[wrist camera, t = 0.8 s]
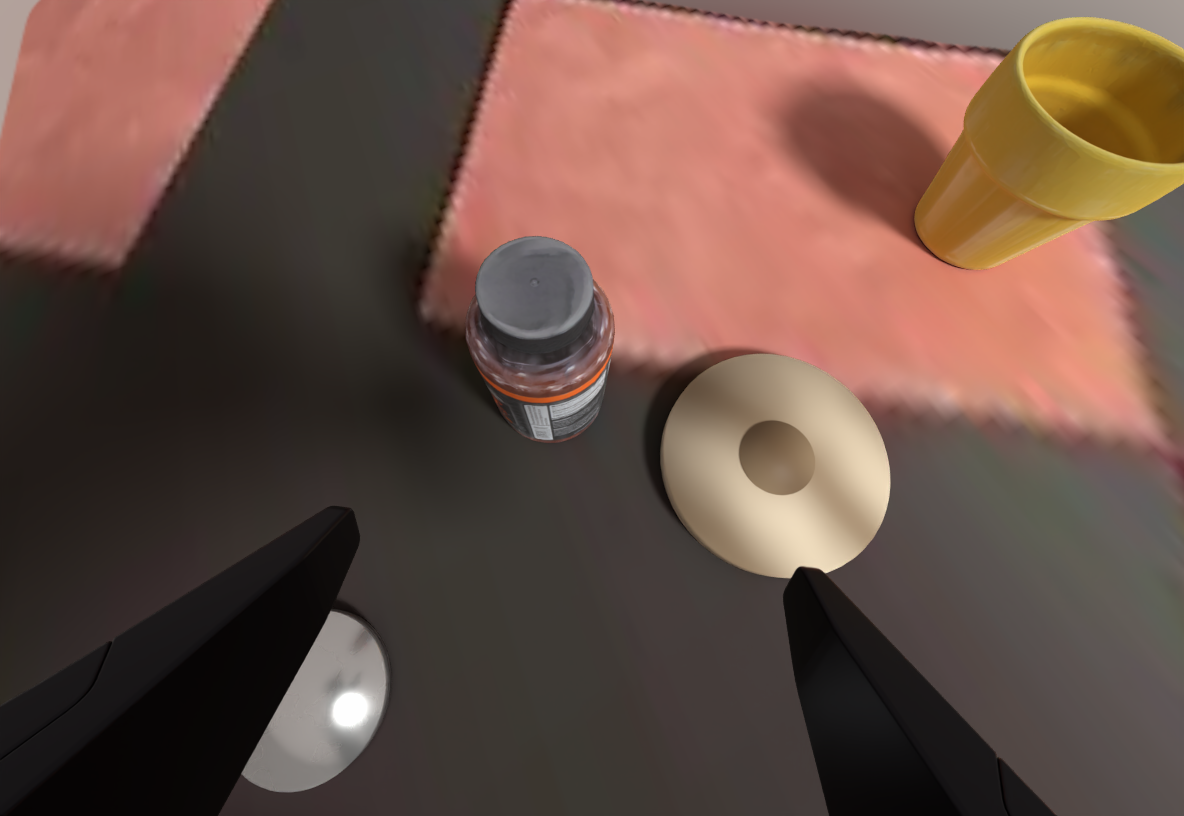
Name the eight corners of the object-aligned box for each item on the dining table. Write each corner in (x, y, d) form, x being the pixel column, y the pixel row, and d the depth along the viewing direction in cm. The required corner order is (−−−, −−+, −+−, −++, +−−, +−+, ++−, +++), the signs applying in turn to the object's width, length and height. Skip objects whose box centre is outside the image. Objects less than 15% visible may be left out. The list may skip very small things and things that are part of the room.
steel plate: (311, 822, 19) (300, 833, 18) (200, 712, 20) (186, 719, 20) (423, 670, 21) (417, 674, 20) (316, 578, 22) (307, 578, 21)
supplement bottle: (484, 368, 26) (421, 236, 15) (580, 334, 27) (583, 188, 16) (519, 462, 24) (475, 389, 14) (619, 423, 25) (652, 326, 15)
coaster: (815, 628, 22) (829, 632, 21) (617, 486, 24) (619, 482, 23) (909, 438, 26) (926, 432, 24) (728, 326, 27) (735, 315, 26)
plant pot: (907, 148, 33) (1039, -15, 23) (1050, 206, 31) (1249, 59, 22) (864, 251, 30) (997, 112, 20) (1020, 321, 28) (1237, 206, 19)
